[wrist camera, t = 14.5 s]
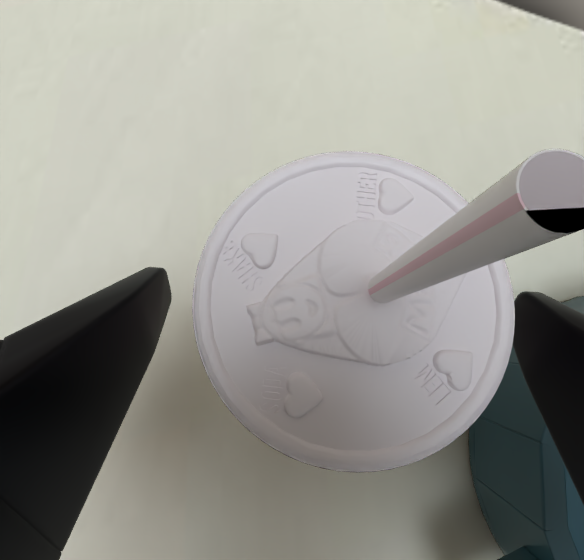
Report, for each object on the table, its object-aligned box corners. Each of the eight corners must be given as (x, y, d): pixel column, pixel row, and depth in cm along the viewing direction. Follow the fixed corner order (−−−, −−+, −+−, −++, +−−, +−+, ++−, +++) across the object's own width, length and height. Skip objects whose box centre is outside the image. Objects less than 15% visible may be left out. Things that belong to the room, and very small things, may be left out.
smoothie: (402, 368, 15) (1342, 640, 2) (271, 407, 15) (30, 1136, 1) (360, 242, 16) (697, -247, 3) (237, 277, 16) (-91, -67, 2)
